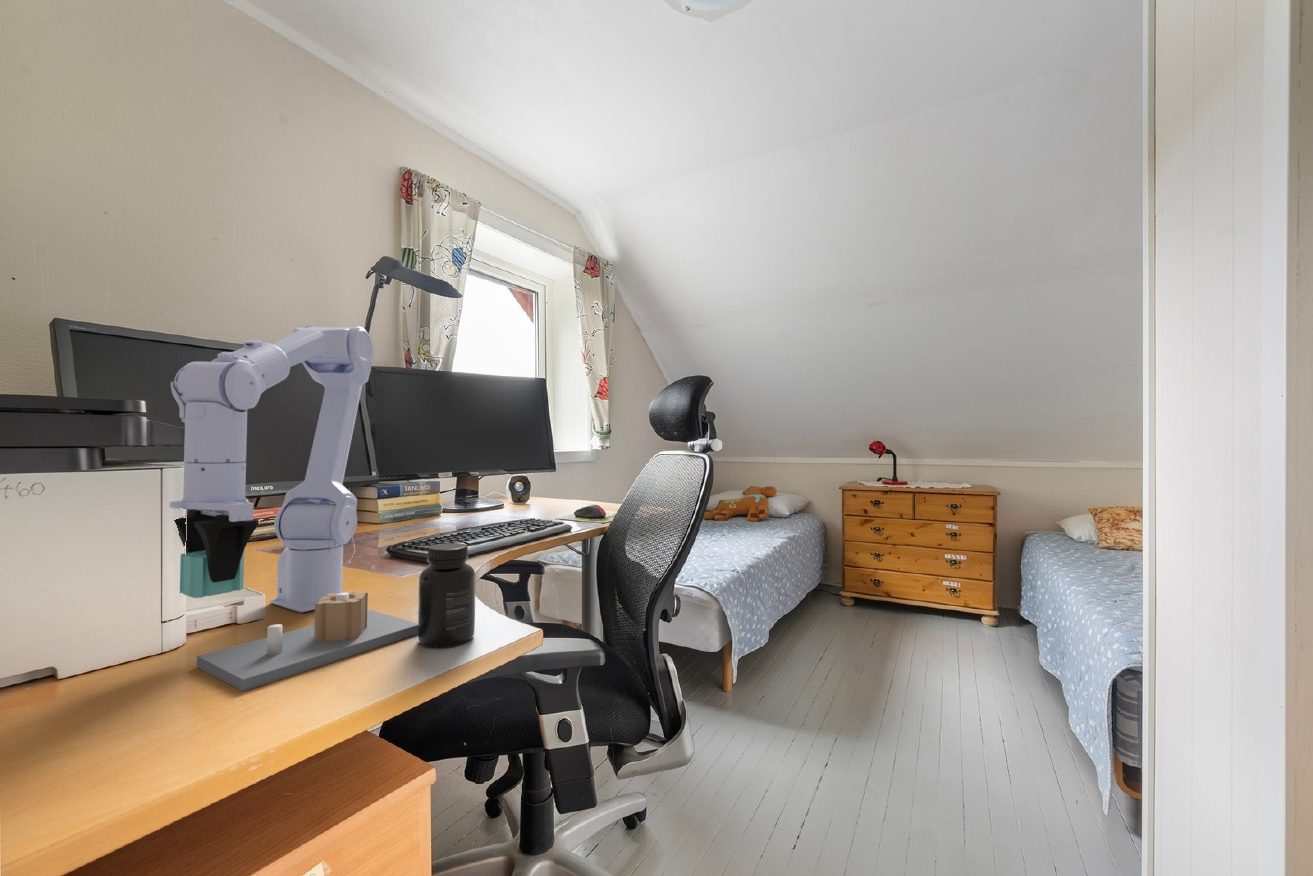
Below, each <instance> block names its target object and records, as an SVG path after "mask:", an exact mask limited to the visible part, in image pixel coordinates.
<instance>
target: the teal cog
mask: <svg viewBox="0 0 1313 876" xmlns="http://www.w3.org/2000/svg"><path fill="white" fill-rule="evenodd" d="M179 562H180V567H179V568H180V569H179V571H180V573H179V574H180V575H179V578H180V579H179V594H183V595H185V596H186V597H190V598H191V597H192V599H198V598H199V599H201V598H204V597H212V596H217V595H222V594H227V593H232V592H235V591H241V590H243V589H244V578H245V577H244V576H245V572H244V571H245V551H244V552H243V555H242V558H241V561H240V564H239V568H238V571H237V574H236V577H235V579H232V580H226V581H220V582H212V581H211V579H210V576H209V571H208V563H207V555H206V550H204V551H196V552H192V553H186V555H185V552H184V553H180V561H179Z"/></svg>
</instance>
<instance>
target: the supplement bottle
mask: <svg viewBox="0 0 1313 876" xmlns="http://www.w3.org/2000/svg"><path fill="white" fill-rule="evenodd" d="M468 547H469V546H468V545H467V544H465V543H461V542H460V543H459V542H458V543H456V542H453V543H452V542H450V543H438V544H434V545H433V544H432V545H429V547H428V549H427V558H426V560H427V561H426V563H428V564H429V565H428V566H426V567H425V568H424V569H422V571H421V572H420V574H419V577H418V614H417V615H418V619H417V620H418V621H417V622H418V634H417V636H418V637H417V639H418V642H419V643H420V644H421V645H422V646H424V647H427V648H432V649H433V648H435V649H441V648H450V647H456V646H460V645H462V644H465V643H467V642H469V641H470V640H472V638H473V637H474V635H475V630H476V629H475V627H476V625H475V624H476V570H475V569H474V568H473V567H472V566H471V565H470V564H468V563H467V561H468V559H469V555H468V553H469V552H468Z"/></svg>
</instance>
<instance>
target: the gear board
mask: <svg viewBox="0 0 1313 876" xmlns="http://www.w3.org/2000/svg"><path fill="white" fill-rule="evenodd" d="M368 594H369V593H368V592H367V591H360V592H358V591H352V592H351V591H350V592H348V591H347V592H342V593H336V594H335V593H330V594H326V596H323V597H322V598H321V599H320V600H318V602H316V603H315V610H314V624H312V625H309V626H305V627H301V628H298V629H295V630H290V631H287V632H283V624H278V623H277V624H271V625H269V626H267V627H266V628H267V633H266V637H262V638H260V639H257V640H253V641H252V640H251V641H248V642H244V643H242V644H241V643H240V644H237V645H233V646H230V647H226V648H223V649H218V650H213V651H210V652H207V653H203V654H200V655H196V668H198V669H200V670H202V671H204V672H205V673H207V674H209V675H211V676H212V677H213V676H214V677H215V678H217V679H219V680H220V681H222V682H224V683H226V684H228V685H230V686H232V687H233V688H235V689H238V690H239V691H241V692H246V691H249V690H252V689H254V688H259V687H261V686H264V685H266V684H267V685H268V684H270V683H272V682H276V681H279V680H282V679H286V678H288V677H291V676H294V675H296V674H300V673H303V672H306V671H310V670H312V669H316V668H319V667H321V666H325V665H327V664H331V663H334V662H337V661H339V660H343V659H346V658H349V657H352V656H354V655H357V654H360V653H363V652H368V651H370V650H374V649H376V648H380V647H382V646H385V645H388V644H391V643H395V642H397V641H400V640H403V639H407V638H410V637H413V636H416V635H418V623H417V622H414V621H410V620H407V619H404V618H400V617H396V616H393V615H389V614H386V613H382V612H379V611H376V610H372V609H370V610H368V599H369V597H368V596H369V595H368ZM409 636H410V637H409ZM394 641H395V642H394Z"/></svg>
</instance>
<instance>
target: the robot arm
mask: <svg viewBox="0 0 1313 876" xmlns="http://www.w3.org/2000/svg"><path fill="white" fill-rule="evenodd" d="M372 342H373V341H372V338H371V336H370V334H369V333H368V331H367V330H366V329H365V328H364V327H362V326H354V327H353V326H351V327H347V326H346V327H345V326H312V325H302V326H300V327H296V328H294V329H293V332H292V334H289V335H288V336H286V337H284V338H282V339H281V340H279V341H277V342H275V343H270V342H267V341H261V340H260V339H248V340H246V341H243V342H242V344H243V347H241V348H239V349H236V350H234V351H222V352H219V353H218V354H217V355H216V356H217V357H216V358H214V359H213V360H211V361H191V362H188V363H186V365H184V366H183V367H181V368H180V369H179V370H178V371H177V373H176V374H175V377H174V380H173V381H170V389H171V394H172V396H173V398H174V400H175V402H176V403H177V405H178V407H179V408H178V410H179V418H180V419H181V422H182V423H184V447H183V448H184V450H183V451H184V452H183V453H184V454H183V487H182V488H183V491H182V493H183V494H182V496H183V498H182V500H181V501H180V500H177V501H176V500H174V501H173V500H172V501H169V508H170V509H174V510H175V509H176V510H177V509H179V510H180V508H183V509H187V512H186V513H187V541H186V524H185V522H186V518H183V517H184V516H181V517H182V518H179V519H176V520H174V521H175V523H176V525H177V528H178V531H179V534H178V536H179V539H180V541H181V544H182V546H183V547H184V546H185V542H186V553H192V552H196V551H204V550H206V555H207V563H208V571H209V576H210V579H211V581H212V582H220V581H226V580H232V579H235V577H236V574H237V571H238V568H239V564H240V561H241V558H242V555H243V552H244V553H245V548H246V546H247V544H248V543H249V541H250V538H251V536H252V535H253V533H254V532H255V530H256V529H257V528H258V526H259V523H260V522H259V521H260V520H259V519H258V518H254V503H253V502H250V501H249V499H248V498H247V497H246V481H247V479H246V478H247V477H246V476H247V475H246V474H247V445H248V444H247V438H248V437H247V436H248V410H249V409H254V408H256V406H257V404H258V403H259V401H260V398H261V395H262V393H264V392H265V391H266V390H267V389H270V388H272V387H274V386H276V385H277V384H279V383H281V382H282V381H285V380H286V379H287V378H288V376H289V375H290V371H291V368H292V367H294V366H296V365H298V364H302V366H303V367H304V368H305V369H306V371H307V373H308V374H309V376H310V377H311V378H312V380H313V381H314V382H316V383H319V384H320V385H322V386H323V387H324V393H323V397H322V403H321V407H320V411H319V416H318V419H317V425H316V429H315V433H314V437H313V443H312V446H311V451H310V454H309V455H310V456H309V460H308V463H307V468H306V472H305V473H306V474H305V477H304V480H303V481H302V482H301V483H300V484H297V485H296V486H295V487H293V488H291V489H290V490H288V491H287V492H286V493H285V496H284V499H283V500H284V501H283V503H282V505H281V507H280V509H279V510H278V511H277V513H276V515H275V519H274V522H273V523H274V525H273V526H274V532H275V535H276V536H277V539H279V541H280V542H281V543H283V548H285V549H284V550H283V551H282V552H281V554H280V555H279V558H278V560H277V573H276V574H277V577H276V579H277V580H276V597H275V598H272V599H269V602H270V603H271V604H274V605H276V606H280V607H282V608H285V609H288V610H291V611H294V612H297V613H305V612H310V611H315V603H316V602H318V600H320V599H321V598H322V597H323V596H326V594H330V593H335V594H336V593H343V569H344V568H343V561H344V545H346V544H348V543H349V541H350V540H351V539H352V537H354V535H355V533H356V530H357V526H358V515H357V506H358V498H357V497H356V496H355V494H354V493H352V492H351V491H350V490H348V488H347V487H345V486H344V485H343V484H344V479H345V473H346V468H347V463H348V458H349V452H350V448H351V444H352V439H353V432H354V429H355V424H356V419H357V413H358V408H359V404H360V399H361V395H362V394H361V393H362V389H363V385H365V384H366V383H368V382H369V378H370V374H371V370H372V365H373V360H374V353H375V349H374V346H373V343H372Z"/></svg>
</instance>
